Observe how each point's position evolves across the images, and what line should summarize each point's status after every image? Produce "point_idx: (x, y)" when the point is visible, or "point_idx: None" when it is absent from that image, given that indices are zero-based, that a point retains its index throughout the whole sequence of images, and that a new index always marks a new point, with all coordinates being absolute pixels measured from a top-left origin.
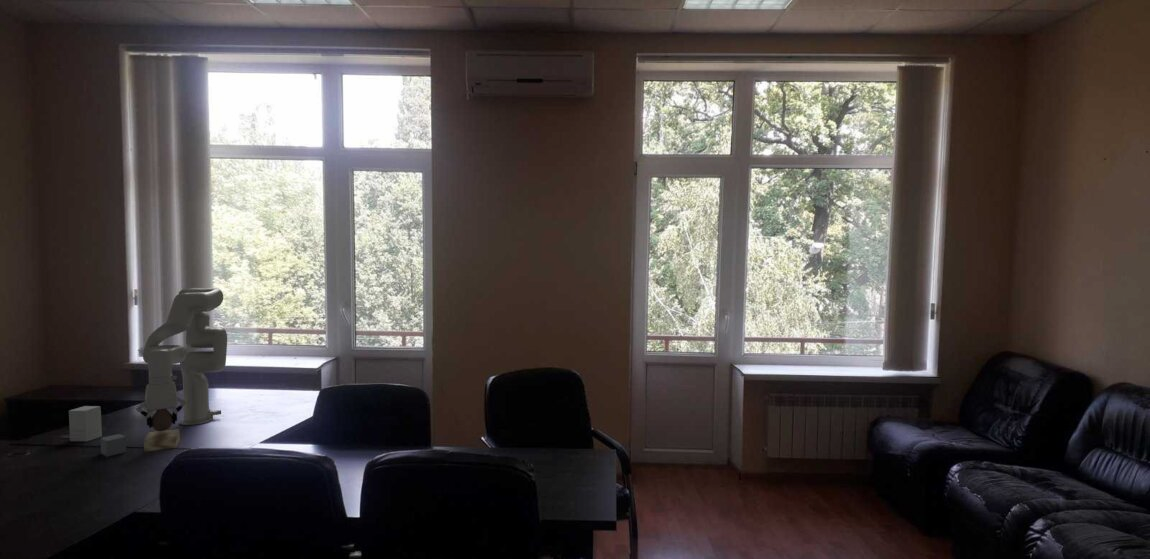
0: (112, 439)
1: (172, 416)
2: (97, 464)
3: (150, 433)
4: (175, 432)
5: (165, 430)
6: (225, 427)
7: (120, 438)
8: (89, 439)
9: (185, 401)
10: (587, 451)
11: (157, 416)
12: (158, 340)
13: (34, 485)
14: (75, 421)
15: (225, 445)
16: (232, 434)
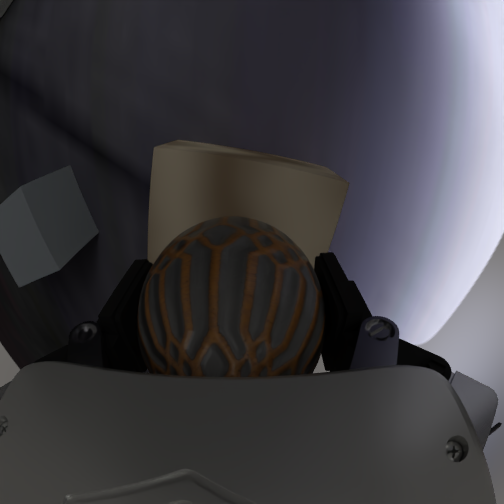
0: (28, 279)
1: (326, 329)
2: (65, 318)
3: (163, 192)
4: (311, 264)
5: (259, 167)
6: (495, 101)
7: (48, 274)
8: (7, 5)
9: (492, 409)
10: (497, 427)
11: None
12: None
13: (28, 363)
14: None
15: (415, 344)
16: (484, 231)
